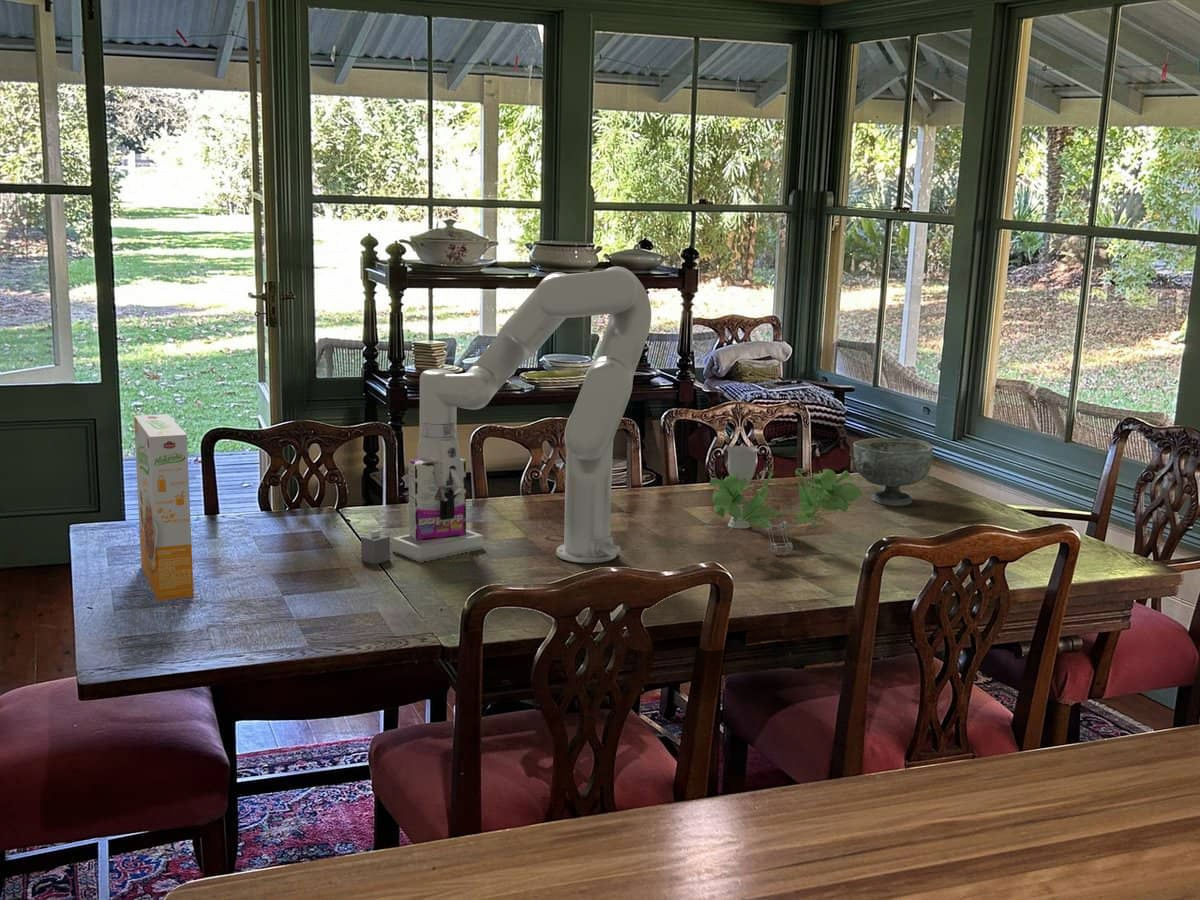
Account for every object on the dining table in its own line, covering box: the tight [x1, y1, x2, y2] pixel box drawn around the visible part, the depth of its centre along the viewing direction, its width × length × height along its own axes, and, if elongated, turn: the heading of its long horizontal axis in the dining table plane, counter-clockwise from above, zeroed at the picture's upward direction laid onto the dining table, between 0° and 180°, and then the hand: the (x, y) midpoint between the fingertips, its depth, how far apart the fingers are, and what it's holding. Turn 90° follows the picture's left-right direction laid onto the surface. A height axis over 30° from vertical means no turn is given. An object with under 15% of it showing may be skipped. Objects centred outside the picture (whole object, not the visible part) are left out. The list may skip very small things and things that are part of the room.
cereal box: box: [133, 413, 195, 601], centre depth 229 cm, size 22×6×30 cm, turn 27°
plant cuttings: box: [700, 468, 863, 555], centre depth 263 cm, size 35×17×22 cm
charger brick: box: [360, 529, 391, 565], centre depth 247 cm, size 4×4×6 cm
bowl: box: [852, 437, 934, 507], centre depth 308 cm, size 20×19×15 cm
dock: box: [391, 529, 484, 563], centre depth 256 cm, size 10×16×3 cm, turn 133°
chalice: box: [726, 445, 759, 529], centre depth 280 cm, size 7×7×18 cm
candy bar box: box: [407, 457, 467, 541], centre depth 254 cm, size 11×5×16 cm, turn 118°
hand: (437, 514), depth 255 cm, fingers closed on candy bar box, 5 cm apart
